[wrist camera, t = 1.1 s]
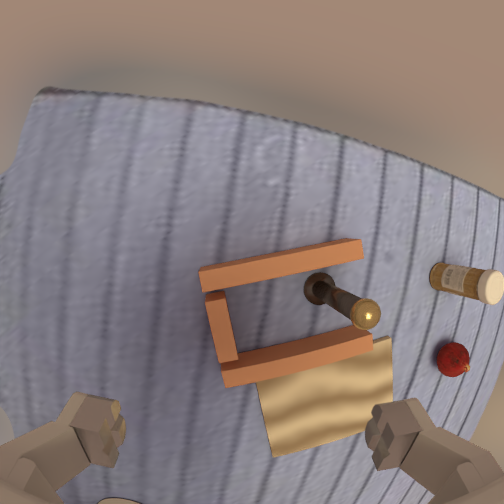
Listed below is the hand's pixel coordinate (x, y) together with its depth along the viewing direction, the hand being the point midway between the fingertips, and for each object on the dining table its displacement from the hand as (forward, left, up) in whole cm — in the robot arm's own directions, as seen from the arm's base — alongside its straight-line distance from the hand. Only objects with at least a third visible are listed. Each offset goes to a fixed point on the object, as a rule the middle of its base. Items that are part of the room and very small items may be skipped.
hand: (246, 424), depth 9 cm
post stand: (-4, -12, -33) cm, 35 cm away
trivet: (-22, -12, -33) cm, 41 cm away
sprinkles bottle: (-7, -33, -33) cm, 48 cm away
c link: (-6, -7, -33) cm, 34 cm away
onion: (-21, -33, -33) cm, 52 cm away
